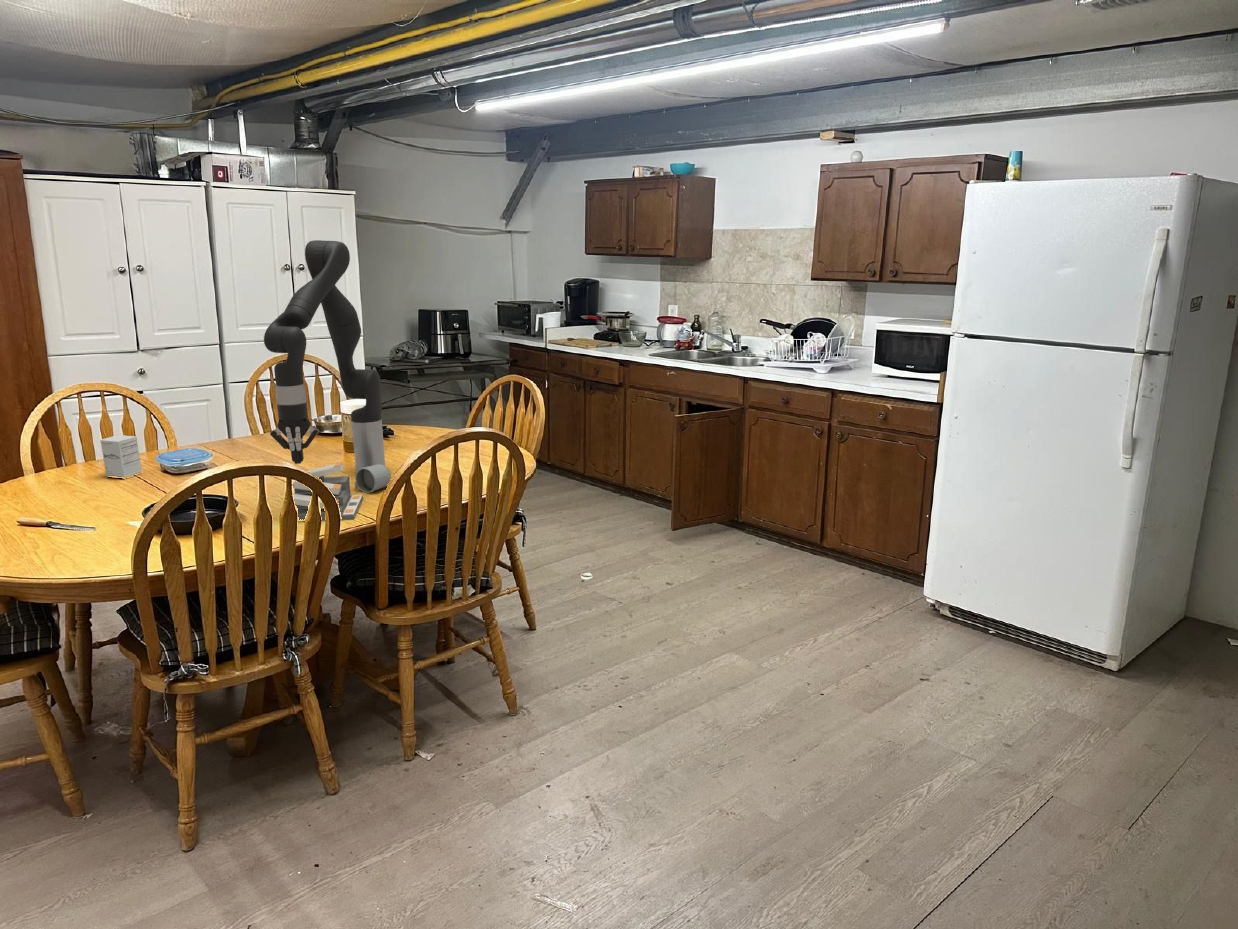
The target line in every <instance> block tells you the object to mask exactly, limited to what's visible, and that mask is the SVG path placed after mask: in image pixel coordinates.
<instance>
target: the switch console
mask: <svg viewBox="0 0 1238 929" xmlns="http://www.w3.org/2000/svg"><path fill="white" fill-rule="evenodd" d="M319 479H321V480H322V482H324V483H331V484H341V491H340V493H339V495H336V494H333V495H334V496H335V498H336V499H337V500H339V502H338V503H339V508H340V512H341V517H342V520H341V521H345V520H346V521H347V520H349V521H350V520H355V518H356V516H357V514H358V513H359V509H360V507H361V505H362V503H363V501H364V494H351V486H350V476H349V475H339V476H338V475H337V476H335V475H334V476H321V477H319ZM293 489H294V490H293V491H294V492H293V494H300V495H307V496H312V492H311V491H309V490H302V489H296V488H293ZM296 506H297V508H298V517H299V520H300V519H301V520H302V519H303V520H304V519H305V516H306V514H307V511H308V506H302V505H296ZM321 517H322V521H321V522H326V521H325V511H324V509H323V508H321Z"/></svg>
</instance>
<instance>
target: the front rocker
mask: <svg viewBox="0 0 1238 929" xmlns="http://www.w3.org/2000/svg"><path fill="white" fill-rule="evenodd" d="M292 495H294V501H295V505H302V506H308V505H309V503H310V500H311V496H307V495H300V494H294V493H292ZM336 501H337V503H338V502H339V500H337V499H336ZM319 503H320V508H323V504H322V502H321V500H320V501H319ZM323 509H324V508H323Z"/></svg>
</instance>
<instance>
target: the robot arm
mask: <svg viewBox="0 0 1238 929" xmlns="http://www.w3.org/2000/svg"><path fill="white" fill-rule="evenodd" d="M304 256H305V257H304V258H305V263H306V267H307V270H308V272H309V275H310V278H311V280H309V281H308V282H307V283H305V284H304V285H303V286H301V287H300V288H299V289H298V290H297V291H295V293H294V294H293V295H292V296H291V298H290V300H289V302H288V303H287V305H286V307H285V310H284V311H283V312H282V313H281V314H279V315H278V316H277V317H276V318H275V319H274V320H272V322H271V323H270V324H269V326H268V327H267V328H266V330H265V332H264V335H263V343H264V344H263V345H264V347H265V348H266V349H267V350H268V351H269V352H271V353H275V354H287V357H286V360H285V361H280V362H277V363H276V364H275V365H274V370H273V372H274V379H275V402H276V407H277V416H278V422H277V427H276V428H274V429H272V430H271V431H270V433H269V434H270V436H271V437H272V438H273V439H274V440H275V442H277V443H278V444H279V445H280V446H281V447H282V448H283V449H284V450H290V454H291V455H290V456H291V461H292V462H293V463H294V464H295V465H297V464H298V465H300V464H301V463H303V461H304V457H305V456H304V449H307V448H308V447H310V445H311V444H312V442H313V441H314V439H315V438H316V436H317V435H318V433H319V432H320V429H319V428H317V427H315V426H313V425H312V423H311V421H310V420H309V413H308V404H307V403H308V402H307V393H306V388H305V383H304V373H303V367H304V360H305V354H306V349H307V336H306V333H305V332H304V331H303V330H304V329H307V327H308V326H310V324H311V322H312V320H313V318H314V317H315V314H316V312H317V310H318V309H319V307H320V306H321V308H322V310H323V311H322V312H323V315H324V318H325V322H326V327H327V329H328V333H329V337H330V340H331V342H332V345H333V349H334V354H335V356H336V361H337V366H338V372H339V377H340V381H341V387H342V390H343V392H344V394H345V395H346V397H347V398H349V399H352V400H353V399H354V400H355V399H356V400H359V399H360V400H365V405H363V406H362V407H359V408H356V409H354V410H352V411H351V413H350V420H351V432H352V441H353V444H352V445H353V453H354V463H355V464H354V465H355V473H357V472H358V470H359V469H361V468H364V467H369V466H373V465H377V464H381V465H384V466H386V457H385V445H384V435H383V434H384V432H383V422H382V421H383V420H382V410H383V409H382V406H383V404H382V381H381V376H380V374H379V372H378V371H377V370H375V369H366V368H365V369H360V368H359V369H356V367H355V365H354V360H353V359H354V358H353V357H354V353H355V350H356V348H357V346H358V344H359V341H360V339H361V335H362V328H361V324H360V321H359V320H360V318H359V316H358V312H357V310H356V309H355V306H354V305H353V304H352V303H351V302H350V300H349V299H347V297H346V296H345V295H344V294H343V293H342V292H341V291H340V289H339V288H338V287H337V285H336V284H337V283H338V282H339V280H340V279H341V278H342V277H343V275H344V274H345V272H346V271H347V270H348V268H349V265H350V261H351V260H350V259H351V256H350V251H349V248H348V246H347V245H346V243H344V242H342V241H337V240H320V239H319V240H316V239H315V240H310V241H308V242H307V243H306V245H305V248H304ZM308 431H309V432H308ZM306 433H308V434H309V437H307V439H306V441H305V442H304V436H305V435H306ZM282 434H283V435H282ZM283 436H285V437H286V439H287V440H286V439H285V438H284V437H283Z"/></svg>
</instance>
